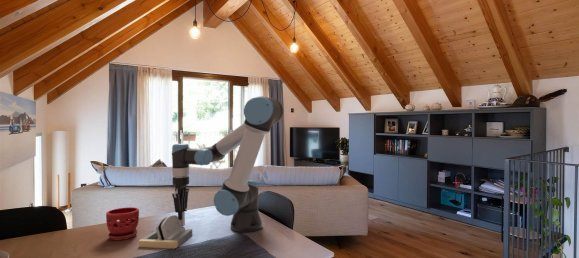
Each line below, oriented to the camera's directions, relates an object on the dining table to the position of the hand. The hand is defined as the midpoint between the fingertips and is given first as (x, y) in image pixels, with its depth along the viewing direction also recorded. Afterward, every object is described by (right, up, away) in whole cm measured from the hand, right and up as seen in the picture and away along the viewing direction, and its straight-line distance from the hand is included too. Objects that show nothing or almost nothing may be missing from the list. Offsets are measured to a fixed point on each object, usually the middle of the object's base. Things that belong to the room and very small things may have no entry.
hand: (181, 225), depth 152 cm
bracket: (-2, -2, -13) cm, 14 cm away
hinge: (-2, -2, -10) cm, 10 cm away
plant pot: (-23, -3, -9) cm, 25 cm away
